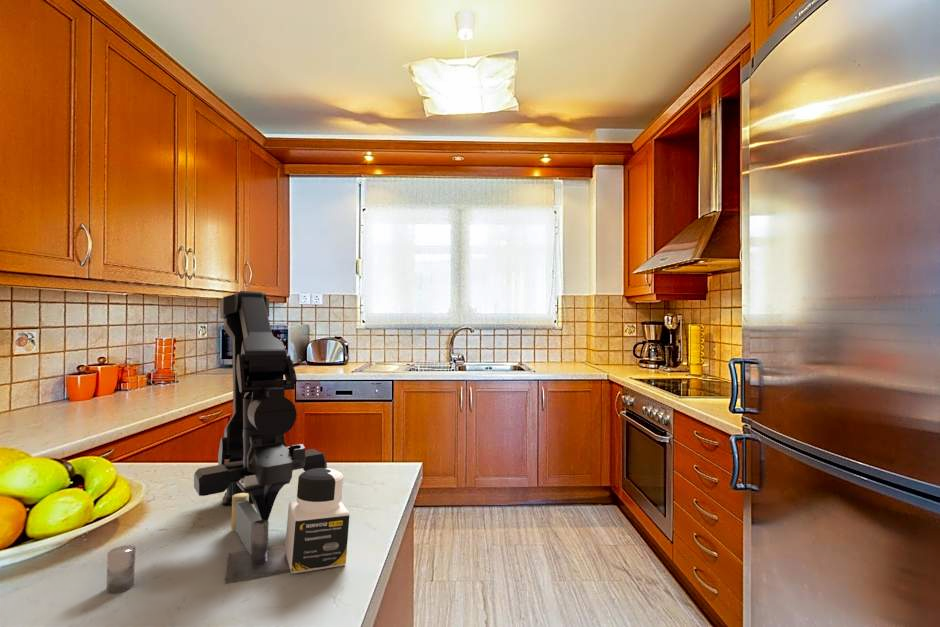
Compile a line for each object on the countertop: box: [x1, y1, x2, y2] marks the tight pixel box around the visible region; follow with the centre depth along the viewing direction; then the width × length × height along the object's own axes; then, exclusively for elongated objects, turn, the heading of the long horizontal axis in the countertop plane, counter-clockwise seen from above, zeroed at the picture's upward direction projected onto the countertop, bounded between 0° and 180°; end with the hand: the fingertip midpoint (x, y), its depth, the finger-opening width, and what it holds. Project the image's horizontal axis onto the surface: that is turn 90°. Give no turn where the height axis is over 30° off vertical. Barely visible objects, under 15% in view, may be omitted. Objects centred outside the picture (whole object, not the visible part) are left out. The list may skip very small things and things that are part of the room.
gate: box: [230, 493, 262, 556], centre depth 72 cm, size 13×2×5 cm, turn 36°
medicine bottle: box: [284, 467, 350, 574], centre depth 67 cm, size 7×7×12 cm
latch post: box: [105, 544, 136, 594], centre depth 59 cm, size 3×3×4 cm
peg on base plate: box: [224, 520, 291, 584], centre depth 66 cm, size 8×8×6 cm
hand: (264, 525), depth 76 cm, fingers closed
